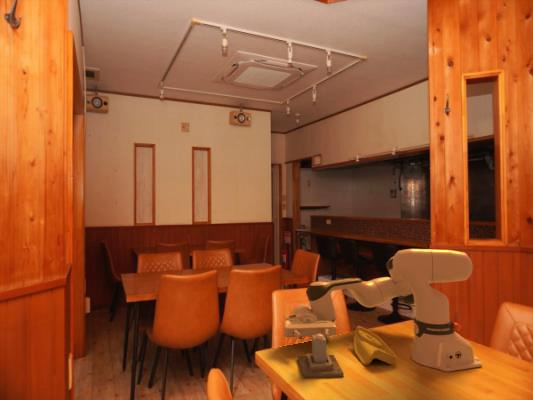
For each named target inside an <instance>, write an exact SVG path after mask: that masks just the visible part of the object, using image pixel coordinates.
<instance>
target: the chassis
mask: <svg viewBox="0 0 533 400" xmlns="http://www.w3.org/2000/svg"><path fill="white" fill-rule="evenodd" d="M326 354H327V363H313V362H312V353H306V355H297V361H298V365H299V368H300V372H301V375H302V378H303V379H317V378H318V379H319V378H322V379H323V378H344V376H345V375H344V374H345V373H344V371H343V370H342V368H341V366H340V364H339V362H338V360H337V358H336V357H335V355H334V354H329V353H327V352H326Z"/></svg>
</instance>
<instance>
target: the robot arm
mask: <svg viewBox="0 0 533 400" xmlns="http://www.w3.org/2000/svg"><path fill="white" fill-rule="evenodd" d="M386 268H387V271H388V273H389V275H390V277H389V276H383V277H378V278H372V279H370V280H368V281H367V280H365V281H364V280H363V279H361V278H359V277H348V278H340V279H334V280H333V279H332V280H326V281H324V280H323V281H314V282H311V283H310V284H309V285H308V286H307V288H306V290H305V294H306V297H307V299H308V303H309V305H308V304H305V303H298V304H297V305H296V306H295V307H294V308H293V310H292V315H288V316H285V319H284V323H283V336H284V337H285V338H297V339H298V340H303V337H307V338H308V337H312V335H316V334H322V335H324V337H325V339H328V338H329V337H331V336H332V337H334V336H336V335H337V333H338V327H337V325H336V324H335V321H336V319H337V314H336V308H335V305H334V302H333V299H332V298H333V297H332V292H334V291H340V290H341V291H342V290H347V289H348V291H349V292H350V293H351V294H352V296H353V297H354V299H355V300H356V301H357V302H358V303H359V304H360V305H361V306H363V307H365V308H374V307H377V306H380V305H382V304H384V303H388V301H390V300H392V299H395V298H397V297H399V299H397V301H398V302H402V303H404V305H407V306H414V317H413V333H414V338H413V346H412V351H411V353H410V358H411V359H412V360H413V361H414V362H415V363H418V364H420V365H422V366H426V367H428V368H429V367H430V368H433V369H437V370H439V371H443V372H454V371H458V370H459V371H462V370H466V369H473V368H479V367H480V368H481V367H482V365H483V364H482V361H481V359H480V358H479V357H478V356H476V355H475V354H474V349H473V346H472V344H471V343H470V342H469V341H468V340H467V339H466V338H464V337H462V336H461V334H459V333H458V332H456V331H459V330H461V329H462V327H461V325H460V324H459V323H457V322H454V321H452V320H450V301H449V298H448V297H447V295H446V294H444V293H443V292H441V291H439V290H437V289H435V288H433V287H432V286H431V285H430V284H433V283H434V284H435V283H451V282H452V283H454V282H463V281H466V280H468V279H469V278H470V277H471V275H472V273H473V268H474V265H473V262H472V260H471V258H470V257H469V255H468V254H467V253H466V252H464V251H458V250H453V249H435V248H433V249H430V248H407V249H401V250H398V251H397V252H396V253H394V256H392V257H391V258H389V260H387V262H386Z"/></svg>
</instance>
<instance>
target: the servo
mask: <svg viewBox="0 0 533 400" xmlns="http://www.w3.org/2000/svg"><path fill="white" fill-rule="evenodd" d="M326 353H327V338H325V337H324V335H322V334H316V335H312V336H311V354H312V362H313V363H327V354H326Z"/></svg>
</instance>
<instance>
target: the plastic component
mask: <svg viewBox="0 0 533 400" xmlns="http://www.w3.org/2000/svg"><path fill="white" fill-rule="evenodd" d="M352 342H353V343H352V344H353V350H354V354H355V355H356V357H357V358H358V359H359V361H360V362H361V364H362V365H365V366H368V365H370V364H371V363H372V361H373V360H374V359H375V360H376V359H377V360H379V361H381V362H384V363H386V364H388V365H394V363H395V361H396V359H397V355H396V354H395V352H394V351H393V350H392V349H391V348H390V347H389V346H388V345H387V343H386V342H385V341H384V340H383V339H382V338H381V337H380V336H378V335H377V334H376V333H375V332H373V331H371V330H369V329H367V328H365V327H362V326H361V325H358V326H357V327H356V328H355V331H354V335H353V340H352Z"/></svg>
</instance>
